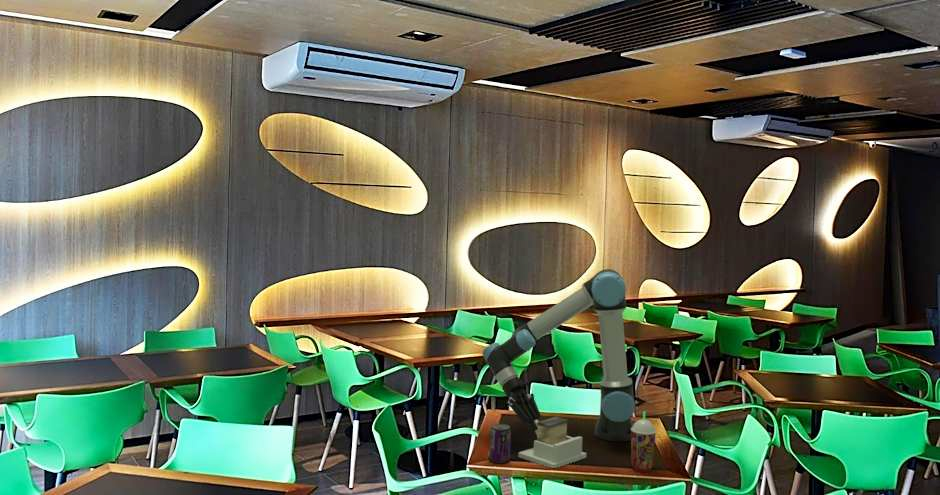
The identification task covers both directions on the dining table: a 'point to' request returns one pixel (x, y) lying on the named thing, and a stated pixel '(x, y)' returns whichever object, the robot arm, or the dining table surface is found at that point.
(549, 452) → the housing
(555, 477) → the dining table surface
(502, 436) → the beverage can
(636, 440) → the smoothie
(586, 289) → the robot arm
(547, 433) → the grey and beige block
